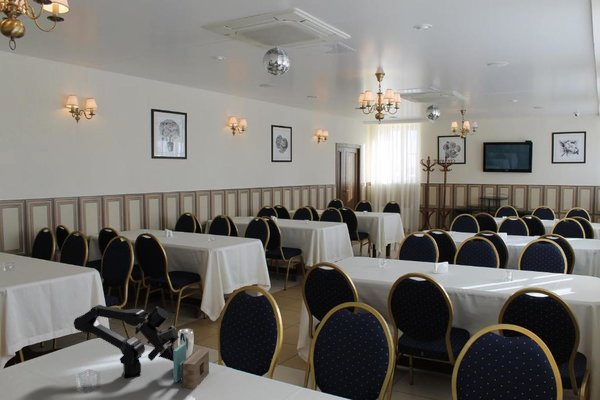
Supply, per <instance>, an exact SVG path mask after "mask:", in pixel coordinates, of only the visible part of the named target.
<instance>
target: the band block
mask: <svg viewBox="0 0 600 400" xmlns="http://www.w3.org/2000/svg"><path fill="white" fill-rule="evenodd" d="M209 374H210V350H209V349H208V350H206V349H195V350H194V351H192V354H191V355H190V356H189V357H188V358H187V359H186V360H184V361H183V362H182V363H181V375H182V378H181V388H182V389H196V388H197V387H198V386H197V385H200V383H202V381H203V380H204V379H205V378H206V377H207V376H208V375H209Z"/></svg>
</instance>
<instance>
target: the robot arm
mask: <svg viewBox="0 0 600 400" xmlns="http://www.w3.org/2000/svg"><path fill="white" fill-rule="evenodd" d="M169 316H170V315H169V313H168V312H167V310H165V309H163V308H161V307H159V306H156V307H155V308H153V310H152V311H151V312H148V311H145V310H144V309H142V308H131V309H122V308H116V307H110V306H107V305H106V306H105V305H102V304H98V305H95V306H93V307H91V308H90V310H88V311H87V312H85V313H84V314H82V315H79V316H78V317H76V318H75V319H74V320H73V326H74V327H73V328H75V330H77V331H78V332H82V333H86V334H87V333H89V334H93V335H94V336H96V337H97V338H99V339H101V340H103V341H106V343H109V344H111V345H112V346H113V347H116V348H117V349H119V350H120V352H121V353H122V356H121V357H120V358H119V360H120V364H121V365H123V366H122V375H123V378H124V379H128V378H129V379H130V378H135V377H140V376H141V373H142V363H141V361H140V359H141V358H142V356H143V354H145V352H146V346H145V344H144V342H142V340H139V339H137V337H135V336H133V337H131V338H129V339H128V338H126V337H124V336H122V334H121V335H120V334H118V333H117V332H115V331H114V330H112V329H110V328H109V327H106V326H104V325H102V324H101V323H100V322H99V321H98V319H97V318H98V317H101V318H106V319H107V318H108V319H113V320H117V321H122V322H124V324H126V325H129V326H133V327H135V332H134V334H135V335H137V334H140V333H141V334H142V336H143V337H145V338H146V340H147V342H146V343H147V344H148V345H150V344H151V345H152V346H153V349H152V350H151V351H150V352H149V353H148V355H147V358H148V359H149V361H150V362H152V361H153V360H154V359H155V358H156V357H157V356H158V355H159V356H158V358H162V359H166V360H168V361H171V362H173V351H174V350H175V349H174V347H175V346H174V345H175V342H176V341H178V338H179V336H178V332H177V331H178V328H176V326H174V325H173V324H171V325H170V326H168V327H167V330H165V331H164V330H163V329H160V330H159V329H158V328H160V327H161V326H162V325H163V324H164V323H165V322H166V321H167V320H168V319H169V318H170V317H169Z"/></svg>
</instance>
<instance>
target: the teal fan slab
mask: <svg viewBox="0 0 600 400" xmlns="http://www.w3.org/2000/svg"><path fill="white" fill-rule="evenodd" d="M184 360H186V344H183V343H182V344H181V345H180V346H179V347H178V346H177V347H175V349H174V351H173V361H172V362H173V382H174V383H178V382H179V381H180V380H182V375H181V363H182V362H183V361H184Z"/></svg>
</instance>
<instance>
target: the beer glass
mask: <svg viewBox="0 0 600 400" xmlns="http://www.w3.org/2000/svg"><path fill="white" fill-rule="evenodd" d="M177 331H178V332H177V335H178V336H179V338H178V339H177V347H179V346H180V345H181V344H182V343H183V344H186V359H187V358H188V357H189V356H190V355H191V354H192V353H193V350H194V349H193V348H194V341H195V340H194V336H195V335H194V329H191V328H181V329H179V330H177Z"/></svg>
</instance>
